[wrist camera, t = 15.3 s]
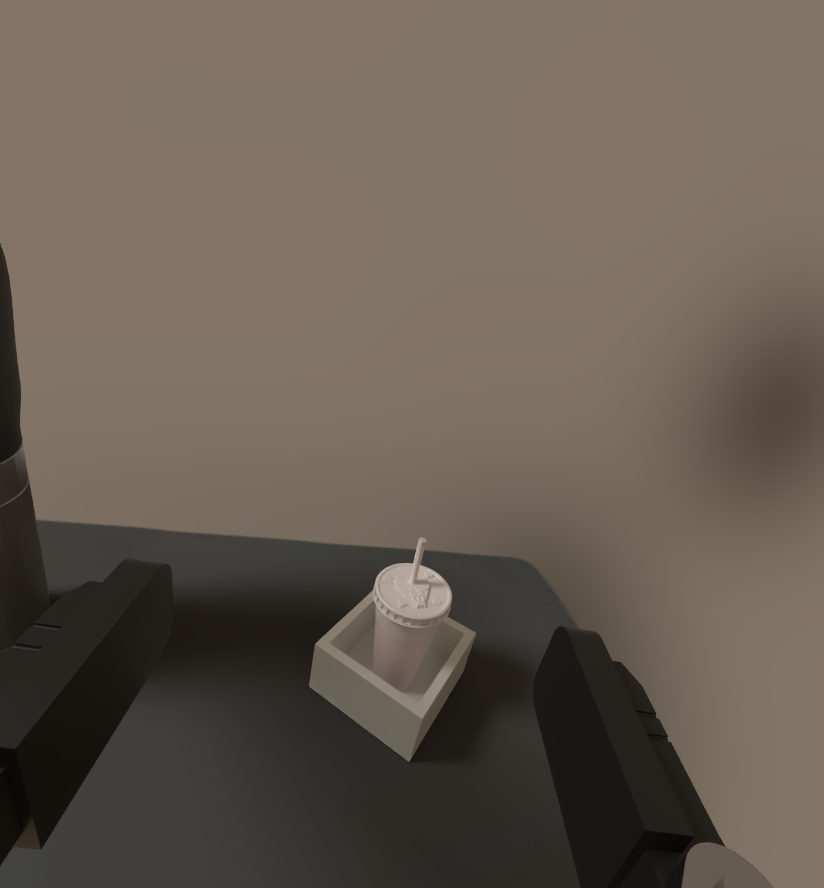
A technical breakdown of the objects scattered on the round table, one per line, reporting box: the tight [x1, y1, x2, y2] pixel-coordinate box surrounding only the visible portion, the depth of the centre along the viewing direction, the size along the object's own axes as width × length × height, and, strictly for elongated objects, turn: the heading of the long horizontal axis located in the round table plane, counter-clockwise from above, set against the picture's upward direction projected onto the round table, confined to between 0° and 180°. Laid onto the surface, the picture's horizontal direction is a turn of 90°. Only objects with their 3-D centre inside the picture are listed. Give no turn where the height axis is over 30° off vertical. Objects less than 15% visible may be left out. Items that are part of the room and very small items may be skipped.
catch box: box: [309, 591, 476, 762], centre depth 39 cm, size 10×10×5 cm
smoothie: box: [373, 538, 452, 691], centre depth 37 cm, size 6×6×14 cm
